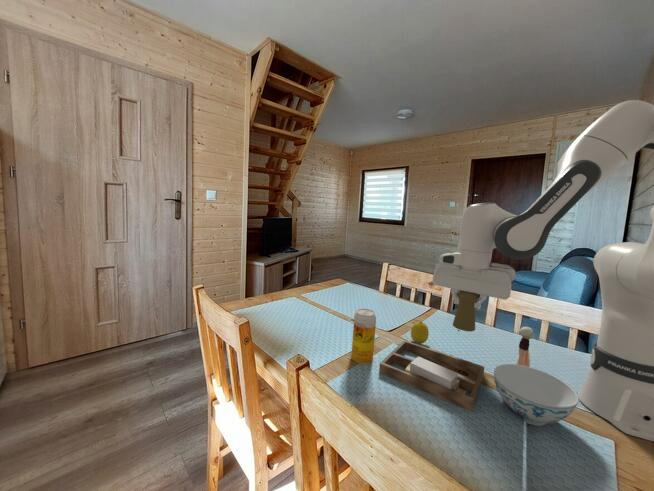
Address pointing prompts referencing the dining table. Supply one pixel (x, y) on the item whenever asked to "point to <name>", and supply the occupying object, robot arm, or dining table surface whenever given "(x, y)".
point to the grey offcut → (434, 372)
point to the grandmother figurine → (524, 346)
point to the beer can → (363, 336)
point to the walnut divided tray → (428, 385)
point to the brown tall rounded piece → (465, 311)
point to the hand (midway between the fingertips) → (466, 306)
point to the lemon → (419, 332)
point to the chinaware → (534, 394)
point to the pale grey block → (454, 388)
